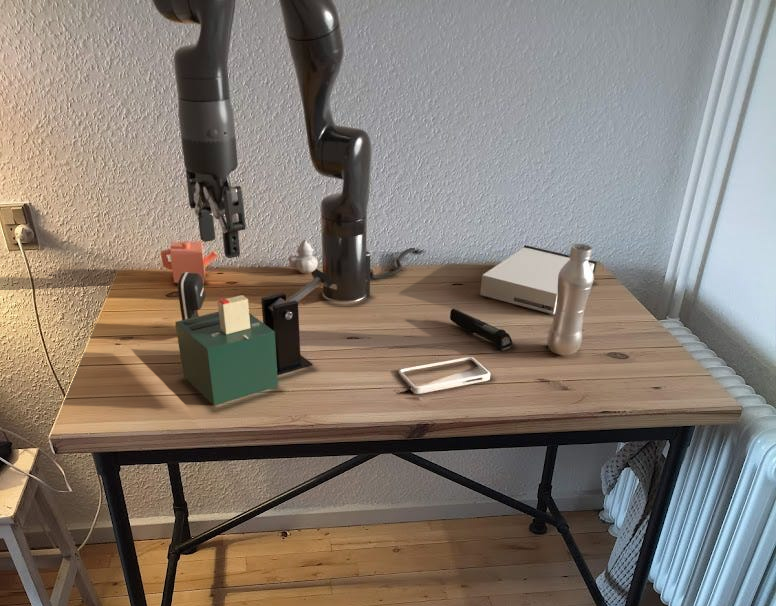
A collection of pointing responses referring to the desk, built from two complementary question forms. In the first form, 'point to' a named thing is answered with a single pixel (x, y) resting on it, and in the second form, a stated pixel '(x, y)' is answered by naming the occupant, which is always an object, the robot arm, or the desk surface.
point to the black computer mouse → (190, 294)
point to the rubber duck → (304, 258)
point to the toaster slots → (203, 320)
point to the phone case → (449, 377)
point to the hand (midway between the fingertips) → (220, 248)
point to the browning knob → (234, 314)
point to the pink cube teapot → (187, 259)
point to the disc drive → (527, 279)
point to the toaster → (228, 359)
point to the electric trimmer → (481, 329)
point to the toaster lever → (306, 288)
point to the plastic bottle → (571, 301)
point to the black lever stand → (284, 333)
